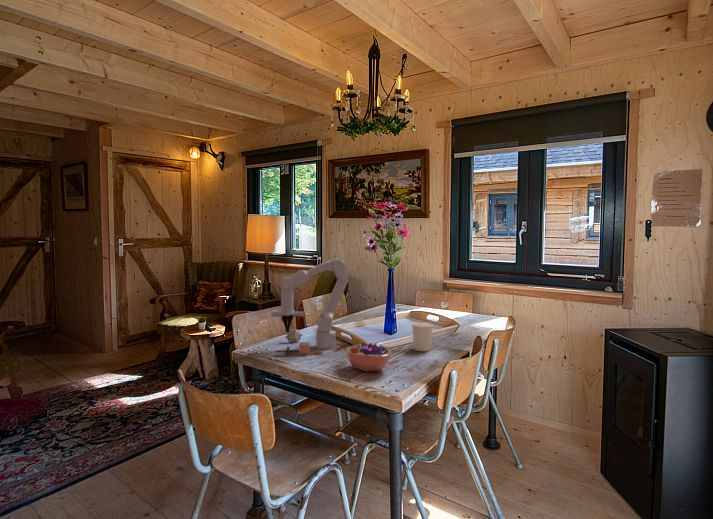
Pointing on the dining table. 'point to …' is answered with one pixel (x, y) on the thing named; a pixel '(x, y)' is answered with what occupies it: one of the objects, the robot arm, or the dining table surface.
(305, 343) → the block
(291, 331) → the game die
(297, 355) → the lane rails
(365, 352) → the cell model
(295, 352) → the brown boxy piece
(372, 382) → the dining table surface
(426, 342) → the candle holder
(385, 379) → the dining table surface
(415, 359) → the dining table surface
